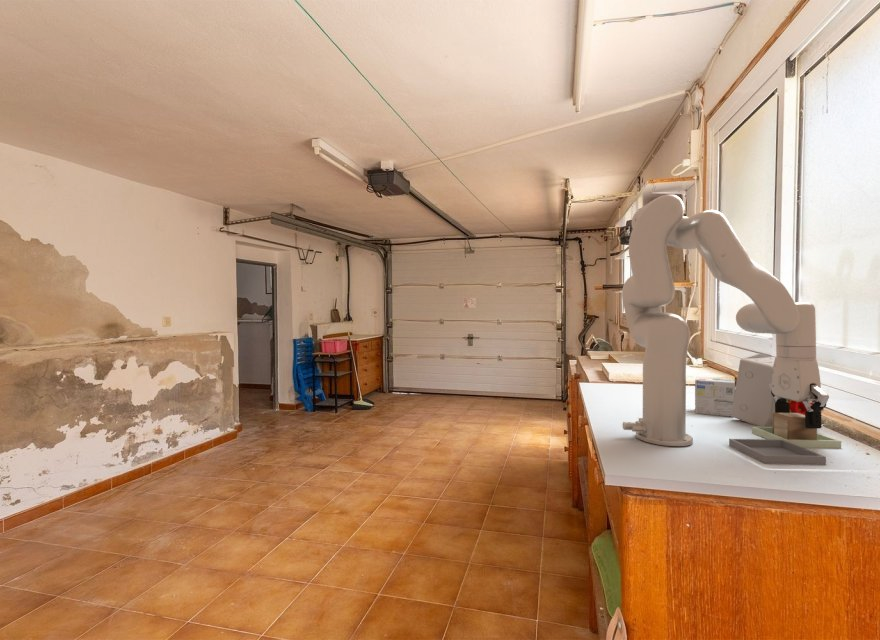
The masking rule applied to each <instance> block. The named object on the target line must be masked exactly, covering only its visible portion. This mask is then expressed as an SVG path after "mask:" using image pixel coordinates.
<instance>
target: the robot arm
mask: <svg viewBox="0 0 880 640" xmlns="http://www.w3.org/2000/svg"><path fill="white" fill-rule="evenodd" d="M684 214H685V204H684V202H683V200H682V199H681V197H679V196H678V195H676V194H672V193H671V194H668V193H667V194H663V195H660V196H658V197H656V198H655V199H652V200H651V201H649V202H648V203H646V204H645V205H643V206H641V207H640V208H639V209H638V210H637V211H635V213H634V214H633V216H632V219H631V228H632V230H631V232H630V233H631V234H630V236H629V241H628V255H629V262H630V268H631V274H632V275H631V276H630V277H628V278H627V280H625V282H624V283H623V287H622V290H621V299H622V305H623V308H624V312H625V313H624V314H625V318H626V323H627V327H628V330H629V334H630V336H631V338H632V339H633V341H634V342H635V344H636V345H639V346H640V347H642V348H645V351H644V355H643V361H642V417H639V418H638V420H635V422H631V421H630V422H629V421H623V422H622V430H624V431H632V432H635V437H636V438H637V439H639V440H640V441H643V442H646V443H648V444H654V445H656V446H657V445H658V446H664V447H665V446H666V447H687V446H690V445H692V444H693V443H694V439H693V437H692V435H690V434H688V433H687V432H686V429H687V428H686V420H687V419H686V418H687V417H686V415H687V413H686V412H687V411H686V407H687V405H686V403H687V402H686V401H687V399H686V398H687V396H686V395H687V391H686V390H687V377H686V376H687V371H686V370H687V358H688V357H687V356H688V351H689V345H690V341H691V331H690V328H689V325H688V323H687V321H685V319H684V318H682V316H680V315H678V314H675V313H672V312H663V307H665V306H667V305H669V304H670V303H672V301H673V300H674V298H675V295H676V288H675V282H674V279H673V274H672V273H673V272H672V270H671V266H670V265H671V264H670V261H669V255H668V246H669V247H673V248H677V249H683V250H695V249H696V251H697V252H698V253H699V255H700V257H701V258H702V259H703V261H704V263H705V265H706V266H707V268H708V269H709V271H710V273H711V274H712V276H713V277H714V278H715V279H717V280H718V281H720V282H722V283H724V284H726V285H729V286H731V287H734V288H736V289H737V290H740V291H741V292H742V293H744V294H745V295H746V296H747V297H748V298H750V300H751V301H752V302H753V303H748V304H746V305H744V306H742V307H740V308H739V309H738V311H736V315H735V320H736V323H737V325H738V326H739V327H740V328H741V329H742V330H744V331H746V332H749V333H752V334H753V333H754V334H771V335H772V334H773V335H775V347H776V348H775V352H776V354H775V356H776V357H775V356H774V357H775V360H774V365H773V373H772V382H771V383H769V386H770V389H771V394H772V396H773V397H774V398H773V401H774V402H775V413H790V403H789V402H787V401H788V400H792V401H796V402H801V401H802V402H803V403H804V405H805V407H806V408H807V410H808V411H805V427H806V428H808V429H814V428H817V429H821V428H822V427H823V426H822V412H824V409H825V408H826V406H827V403H828V401H829V398H830V396H829V394H828V393H826V392H825V391H824V390H823V389H822V384H821V375H820V368H819V365H818V360H817V331H816V330H817V327H816V326H817V325H816V324H817V321H816V307H815V305H814V304H812V303H811V302H807V301H805V302H803V301H802V302H796V301H794V299H793V297H792V296H791V294H790V293H789V291H788V289H787V288H786V286H785V285H784V284H783V282H781V281H780V280H779V279H778V278H777V277H775V276H774V275H773V274H772V273H771V272H769V271H768V270H767V269H765V268H764V267H763V266H761V265H760V264H758V263H757V262H755V261H754V260H753V259H752V257H751V256H750V255H749V253H748V252H747V250H746V248H745V246H744V245H743V244H742V242H741V240H740V238H739V236H738V235H737V234H736V232H735V231H734V228H733V227H732V226H731V225H730V222H729V221H728V219H727V218H726V216H725V215H724V214H723V213H722V212H720V211H719V210H715V209H707V210H704V211H699V212H698V213H695V214H692V215H690V216H685V215H684ZM812 402H813V403H814V404H813V405H811V404H810V403H812Z"/></svg>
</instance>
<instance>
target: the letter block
mask: <svg viewBox="0 0 880 640" xmlns="http://www.w3.org/2000/svg"><path fill="white" fill-rule="evenodd" d="M772 427H773V429H772V434H774V435H777V436H780V437H782V438H785V439H787V440H817V433H818V428H814V429H808V428H806V427H805V415H803V414H800V413H773V426H772Z"/></svg>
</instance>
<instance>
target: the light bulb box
mask: <svg viewBox="0 0 880 640" xmlns="http://www.w3.org/2000/svg"><path fill="white" fill-rule="evenodd" d="M694 383H695V384H694V405H695V406H694V407H695V409H694V413H695V414H702V415H709V416H710V415H712V416H719V415H720V417H721V416H722V417H729V416H731V413H732V407H733V401H734V395H735V389H736V383H735V380H734V379H726V378H709V377H708V378H707V377H698V376H696V378H695V381H694ZM731 418H733V417H732V416H731Z"/></svg>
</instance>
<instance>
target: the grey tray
mask: <svg viewBox="0 0 880 640" xmlns="http://www.w3.org/2000/svg"><path fill="white" fill-rule="evenodd" d="M728 443H729V444H728V446H729V447H731V448H733V449H735V450H737V451H739V452H740V453H742V454H745V455H747V456H749V457H751V458H752V459H755V460H757V461H759V462H761V463H762V464H765V465H767V464H770V465H773V464H776V465H777V464H778V465H811V466H812V465H817V466H818V465H819V466H823V465H824V466H826V464H827V456H825V455H823V454H820V453H817V452H815V451H812V450H810V449H809V448H803V447H800V446H798V445H795V444H793V443H790V442H788V441H785V440H775V439H765V438H764V439H763V438H729V440H728Z"/></svg>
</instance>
